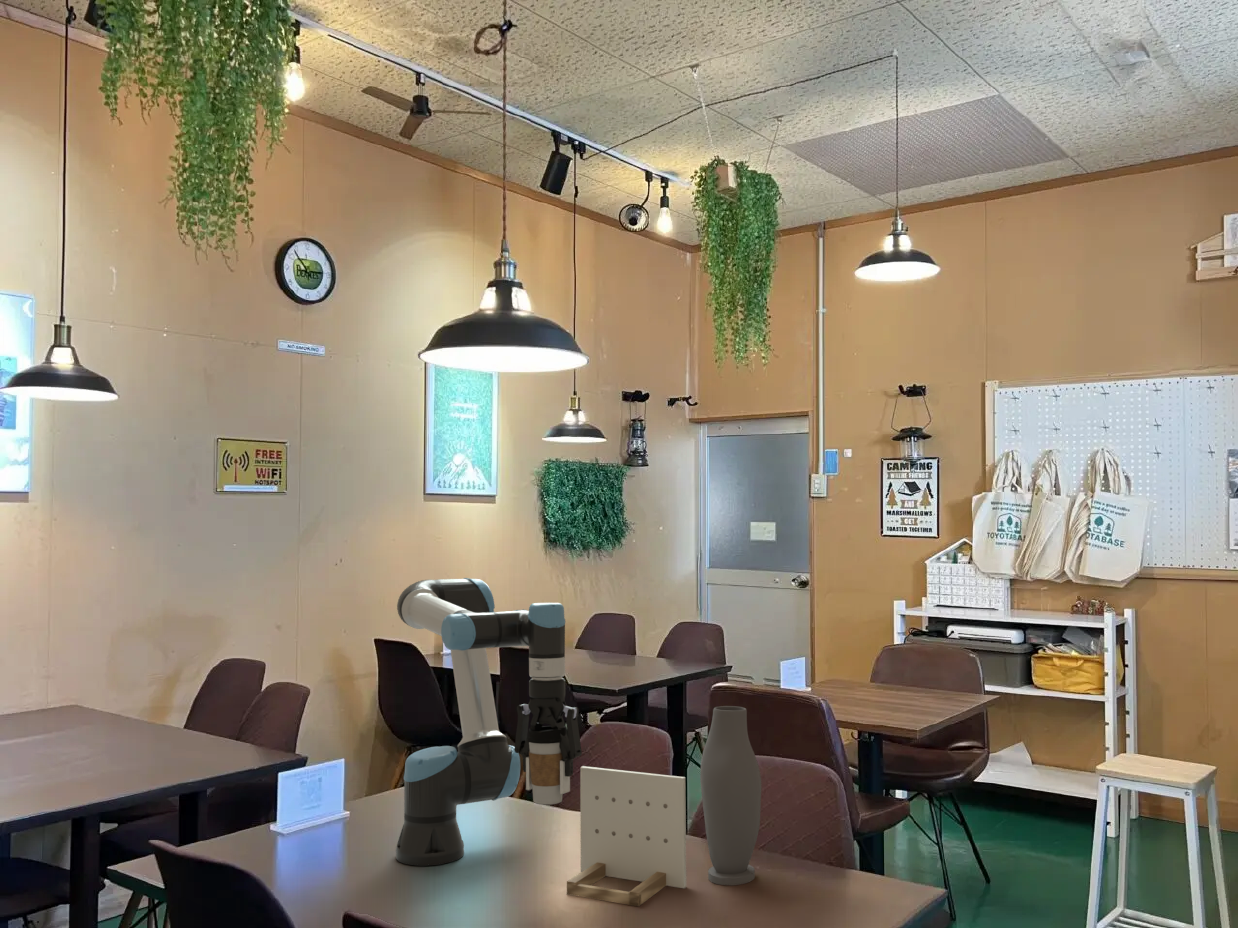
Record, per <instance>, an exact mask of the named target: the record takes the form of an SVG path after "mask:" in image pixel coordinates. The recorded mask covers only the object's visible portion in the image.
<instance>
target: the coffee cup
mask: <svg viewBox="0 0 1238 928" xmlns="http://www.w3.org/2000/svg"><path fill="white" fill-rule="evenodd" d="M566 733H567V734H568V730H567V725H564V727H563V728H560V729H555V730H553V729H552V728H551V725H545V726H543V725H542V727H541V730H540V731H532V729H530V728H528V731H527V741H528V742H529V748H530V751H529V759H530V769H531V780H532V789H531V790H532V799H533V800H532V801H533V803H535V804H537V805H545V806H546V805H555V804H559V803H561V802H562V801H563V796H564V795H563V794H560V761H561V759H563V756H562V753H561V750H560V747H559V744H560V742H561V738H560V734H561V735H563V736H565V735H566ZM565 738H566V737H565Z"/></svg>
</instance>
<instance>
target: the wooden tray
mask: <svg viewBox="0 0 1238 928" xmlns="http://www.w3.org/2000/svg"><path fill="white" fill-rule="evenodd" d="M604 877H607V876H606V864H604V863H595V864H594V865H592V866H591V867H589V868H587V869H586V870H584V871H583V872H581V871H580V873H578V874H576V875H574V876H573V877H571V878H570V879H568V880H566V895H571V896H576V897H581V898H587V899H594V900H600V901H605V902H612V903H618V904H621V905H622V904H623V905H628V906H634V907H641V905H643V904H644V903H645V902H647V901H648V900H649V899H651V897H653V896H654V895H655V894H657V893H658V892H660V891H661V890H662V889H663V888H665V887H667V886H666V873H662V872H656V873H655V874H653V875H652V876H650V877H649V878H648V879H646V880H645V881H643V882H640V884H638V885H637V886H634V888H633V889H631V890H629V891H625V890H621V889H620V890H619V889H614V888H607V887H603V886H596V885H594V884H595V883H597V882H599V881H601V879H604Z"/></svg>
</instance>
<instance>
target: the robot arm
mask: <svg viewBox="0 0 1238 928" xmlns="http://www.w3.org/2000/svg"><path fill="white" fill-rule="evenodd" d="M495 607H496V606H495V599H494V595H493V593H492V590H491V588H490V587H489V585H488V584H487V582H485V581H484V580H482V579H480V578H479V579H478V578H468V577H463V578H444V579H443V578H442V579H422V580H420V581H419V580H418V581H416V582H414V583H412V584H409V586H407V587H406V588H405V589H404V590H403V591H402V592H401V594H400V595H399V596H398V601H397V603H396V609H397V610H396V611H397V614H398V617H399V619H400V620H401V621H402V622H403V623H404V624H406V625H407V626H408V627H410V628H412V629H417V630H423V629H425V630H427V631H430V632H432V633H434V634H435V635H437V636H440V637H441V640H442V642H443V644H444V647H445V648H446V649H448V650H450V656H451V662H452V670H453V677H454V685H455V689H456V697H457V705H458V712H459V719H460V726H461V733H462V734H461V735H462V738H461V740H460V742H459V743H458V744H457V748H456V747H455V746H452V745H451V746H450V745H442V746H437V745H436V746H431V747H427V748H426V747H425V748H423V749H420V750H417V751H415V752H413V753H411V754H410V755H409V756H408V757H407V758H406V760H405V763H404V774H403V780H404V782H403V783H404V788H403V789H404V792H403V793H404V796H403V797H404V798H403V799H404V802H403V803H404V804H403V806H404V807H403V808H404V809H403V817H404V818H403V824H402V827H401V831H400V834H399V837H398V840H397V844H396V846H395V859H396V861H397V862H399V863H402V864H404V865H410V866H419V867H420V866H422V867H423V866H424V867H425V866H438V865H444V864H449V863H452V862H455V861H458V860H459V859H461V858H462V857H464V853H465V843H464V841H463V839H462V833H461V830H460V827H459V824H458V820H457V806H459V805H465V804H472V803H479V802H487V801H497V800H499V799H503V798H504V799H505V798H508V797H510V796H511V795H512V794H514V792H515V790H516V789H517V786H518V783H519V781H520V775H521V757H520V755H521V756H522V771H523V772H524V773H525V790H526V791H530V790H533V789H532V780H531V769H530V759H529V751H530V748H529V742H528V741H527V736H528V730H529V729H532V731H540V730H541V727H542V726H543V725H544V724H547V725H549V726H551V728H552V729H553V730H555V729H560V728H563V727H564V726H566V731H567V733H566V735H565V736H563V735H561V734H560V738H561V742H560V744H559V747H560V750H561V753H562V756H563V759H561V761H560V794H566V793H569V792H571V777H572V776H573V774H574V759H576V758H579V757H581V756H582V755H583V754H582V753H583V752H582V746H581V745H582V744H581V737H580V730H579V722H578V716H579V712H580V711H579V710H580V709H579V708H578V707H577V706H576V707H575V706H574V707H571V706H568V705H567V703H566V701H565V699H566V679H565V678H563V677H564V676H566V655H565V654H566V619H565V607H564V605H563V604H562V603H560V602H535V603H534V602H533V603H531V604H530V605H529V607H528V609H524V608H523V609H514V610H512V611H511V610H509V611H495ZM509 647H511V648H512V647H528V675H529V677H530V680H529V681H528V695H529V698H530V699H529V702H528V704H527V703H523V704H519V705H517V706H516V712H517V723H516V725H517V726H516V730H515V731H516V733H515V742H514V745H510V744H509V743H508V739H507V738H508V737H507V736H506V735H505V734H504V733H502V732H501V731H500V729H499V722H498V717H497V711H496V709H497V708H496V703H495V697H494V691H493V684H492V677H491V671H490V666H489V659H488V653H487V649H491V648H493V649H495V648H509ZM530 713H531V714H532V718H531V721H530ZM563 715H564V717H565V718H566V725H565V721H564V717H563ZM529 721H530V723H529ZM529 724H530V727H529ZM565 737H566V738H565ZM457 750H458V751H457Z"/></svg>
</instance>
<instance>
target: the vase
mask: <svg viewBox="0 0 1238 928" xmlns="http://www.w3.org/2000/svg"><path fill="white" fill-rule="evenodd" d="M747 713H748V711H747V708H745V707H743V706H735V705H723V706H722V705H721V706H715V707H714V708H713V709H712V720H711V725H710V728H709V732H708V735H707V739H706V741H705V745H704V748H703V751H702V755H701V760H700V772H699V773H700V774H699V775H700V782H699V783H700V792H701V799H702V808H703V816H704V824H705V825H704V827H705V834H706V840H707V847H708V854H709V859H710V862H711V865H712V866H711V867H709V868H708V871H707V873H708V874H707V875H708V877H707V878H708V881H710V882H711V883H712V884H716V885H720V886H739V885H744V884H747V883H750V882H752V881H754V880H755V878H756V873H755V872H756V870H755V867H754V866H752V865H750V862H751V859H752V855H753V854H754V850H755V846H756V843H757V841H758V840H757V838H758V836H759V835H758V834H759V832H760V825H761V824H760V823H761V806H762V805H761V804H762V803H761V802H762V801H761V800H762V778H761V777H762V776H761V770H760V766H759V763H758V761H757V757H756V755H755V751H754V750H753V747H752V745H751V742H750V738H749V734H748V721H747V720H748V719H747V718H748V717H747Z"/></svg>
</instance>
